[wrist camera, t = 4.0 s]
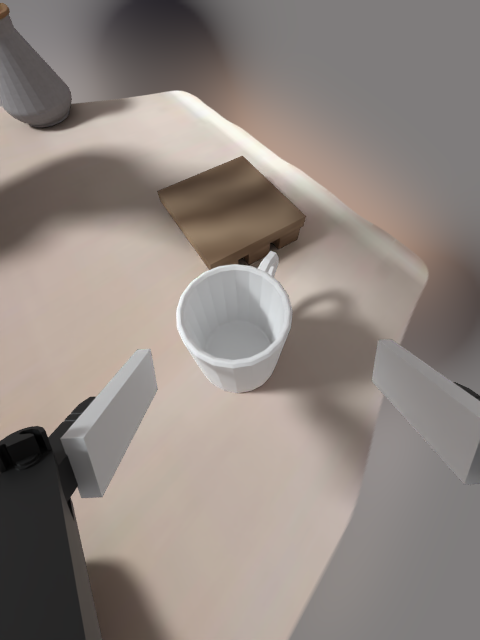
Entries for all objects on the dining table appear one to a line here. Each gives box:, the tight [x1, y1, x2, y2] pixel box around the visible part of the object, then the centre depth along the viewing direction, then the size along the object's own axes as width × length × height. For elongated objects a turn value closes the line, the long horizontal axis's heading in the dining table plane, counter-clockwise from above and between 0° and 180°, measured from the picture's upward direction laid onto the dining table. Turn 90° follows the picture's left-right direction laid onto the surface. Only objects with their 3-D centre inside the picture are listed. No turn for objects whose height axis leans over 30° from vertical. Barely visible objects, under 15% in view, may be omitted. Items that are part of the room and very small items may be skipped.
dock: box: [157, 156, 306, 270], centre depth 32 cm, size 14×13×4 cm
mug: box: [176, 251, 292, 393], centre depth 23 cm, size 8×12×10 cm
